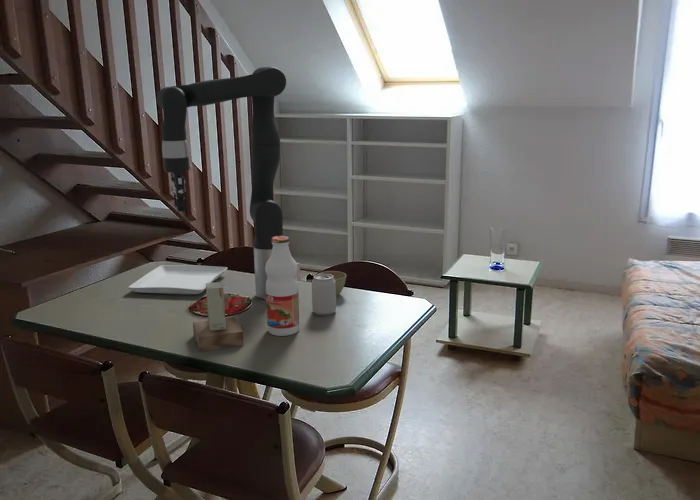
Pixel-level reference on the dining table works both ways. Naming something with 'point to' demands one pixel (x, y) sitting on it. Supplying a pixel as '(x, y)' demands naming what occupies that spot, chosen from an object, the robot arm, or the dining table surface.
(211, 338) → the walnut stand
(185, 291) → the square plate
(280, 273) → the fruit juice
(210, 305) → the skincare box
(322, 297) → the can
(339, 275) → the beige bowl
